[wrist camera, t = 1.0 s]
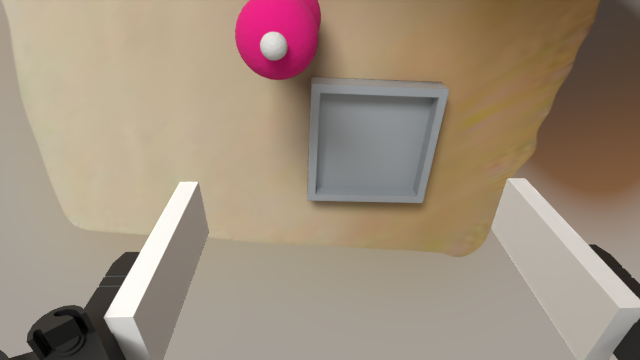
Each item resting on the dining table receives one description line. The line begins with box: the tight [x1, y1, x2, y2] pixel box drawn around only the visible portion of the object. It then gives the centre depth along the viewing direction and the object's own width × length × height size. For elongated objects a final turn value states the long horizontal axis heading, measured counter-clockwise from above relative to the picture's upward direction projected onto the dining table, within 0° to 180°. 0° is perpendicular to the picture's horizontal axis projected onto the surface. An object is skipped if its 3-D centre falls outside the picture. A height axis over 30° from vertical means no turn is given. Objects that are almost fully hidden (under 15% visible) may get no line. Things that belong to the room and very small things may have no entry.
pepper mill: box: [235, 0, 321, 80], centre depth 31 cm, size 7×7×20 cm
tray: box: [307, 77, 449, 203], centre depth 47 cm, size 16×16×3 cm
